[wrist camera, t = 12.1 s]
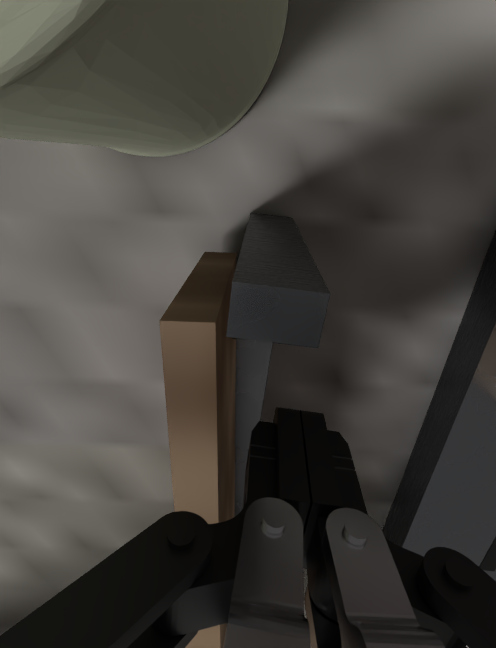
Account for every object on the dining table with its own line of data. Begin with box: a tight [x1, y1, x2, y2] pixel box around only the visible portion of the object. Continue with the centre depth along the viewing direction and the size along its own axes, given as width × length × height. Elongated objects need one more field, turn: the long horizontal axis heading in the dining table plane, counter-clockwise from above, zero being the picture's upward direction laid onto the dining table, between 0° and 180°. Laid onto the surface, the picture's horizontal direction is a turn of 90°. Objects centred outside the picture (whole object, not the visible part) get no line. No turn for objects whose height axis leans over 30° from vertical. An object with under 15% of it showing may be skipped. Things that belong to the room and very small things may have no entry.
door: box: [160, 252, 240, 648], centre depth 14 cm, size 16×2×7 cm, turn 179°
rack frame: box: [226, 213, 330, 517], centre depth 14 cm, size 20×2×10 cm, turn 173°
